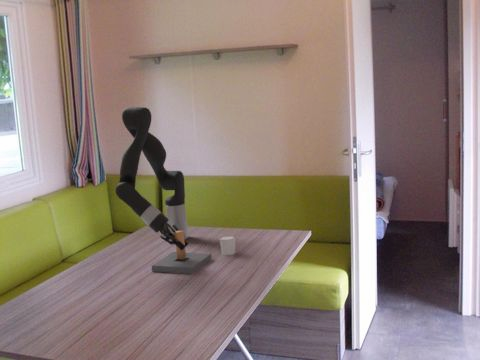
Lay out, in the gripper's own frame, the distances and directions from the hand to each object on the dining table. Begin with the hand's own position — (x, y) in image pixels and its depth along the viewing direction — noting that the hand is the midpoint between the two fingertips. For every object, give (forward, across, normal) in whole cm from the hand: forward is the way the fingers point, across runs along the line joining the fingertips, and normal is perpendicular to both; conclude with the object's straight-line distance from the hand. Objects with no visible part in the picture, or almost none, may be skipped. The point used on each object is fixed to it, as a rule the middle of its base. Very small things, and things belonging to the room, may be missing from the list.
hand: (185, 246), depth 229 cm
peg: (+2, 0, +5) cm, 5 cm away
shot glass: (+15, +16, -4) cm, 22 cm away
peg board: (+4, 0, +7) cm, 8 cm away
